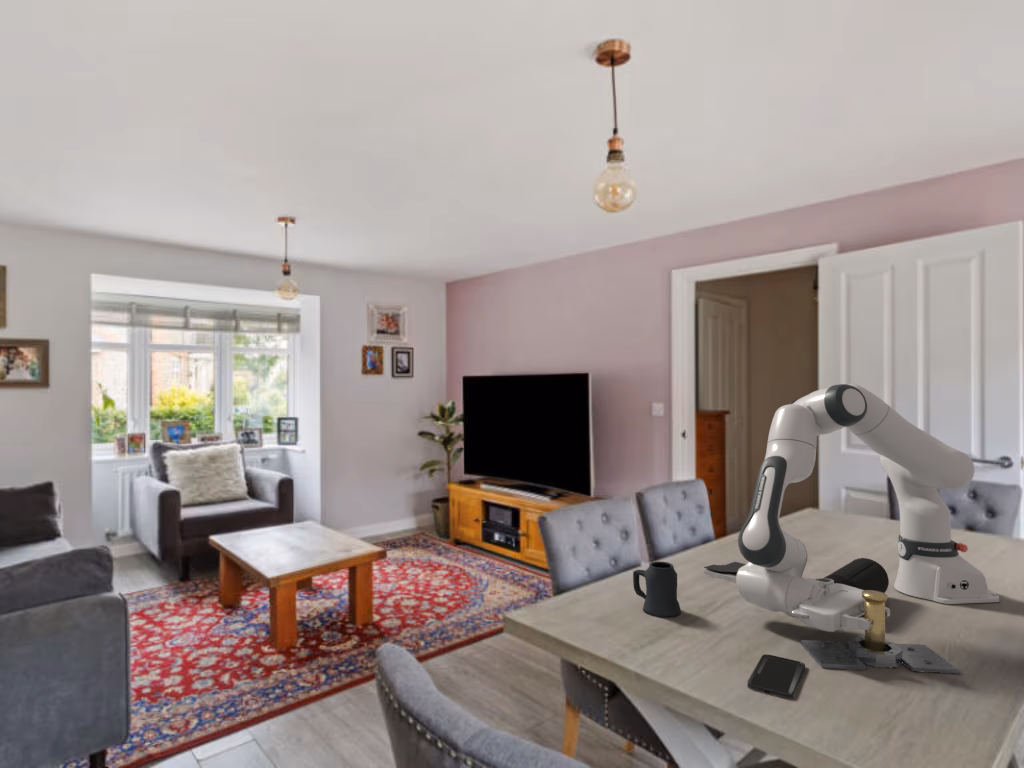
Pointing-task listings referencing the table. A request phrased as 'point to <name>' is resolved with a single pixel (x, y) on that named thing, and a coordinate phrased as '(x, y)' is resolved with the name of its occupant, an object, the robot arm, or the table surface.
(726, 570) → the picture frame
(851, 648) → the hinge body
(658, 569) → the mug
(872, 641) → the pin
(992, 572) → the table surface
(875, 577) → the portable speaker
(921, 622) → the table surface
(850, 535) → the table surface
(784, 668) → the phone
